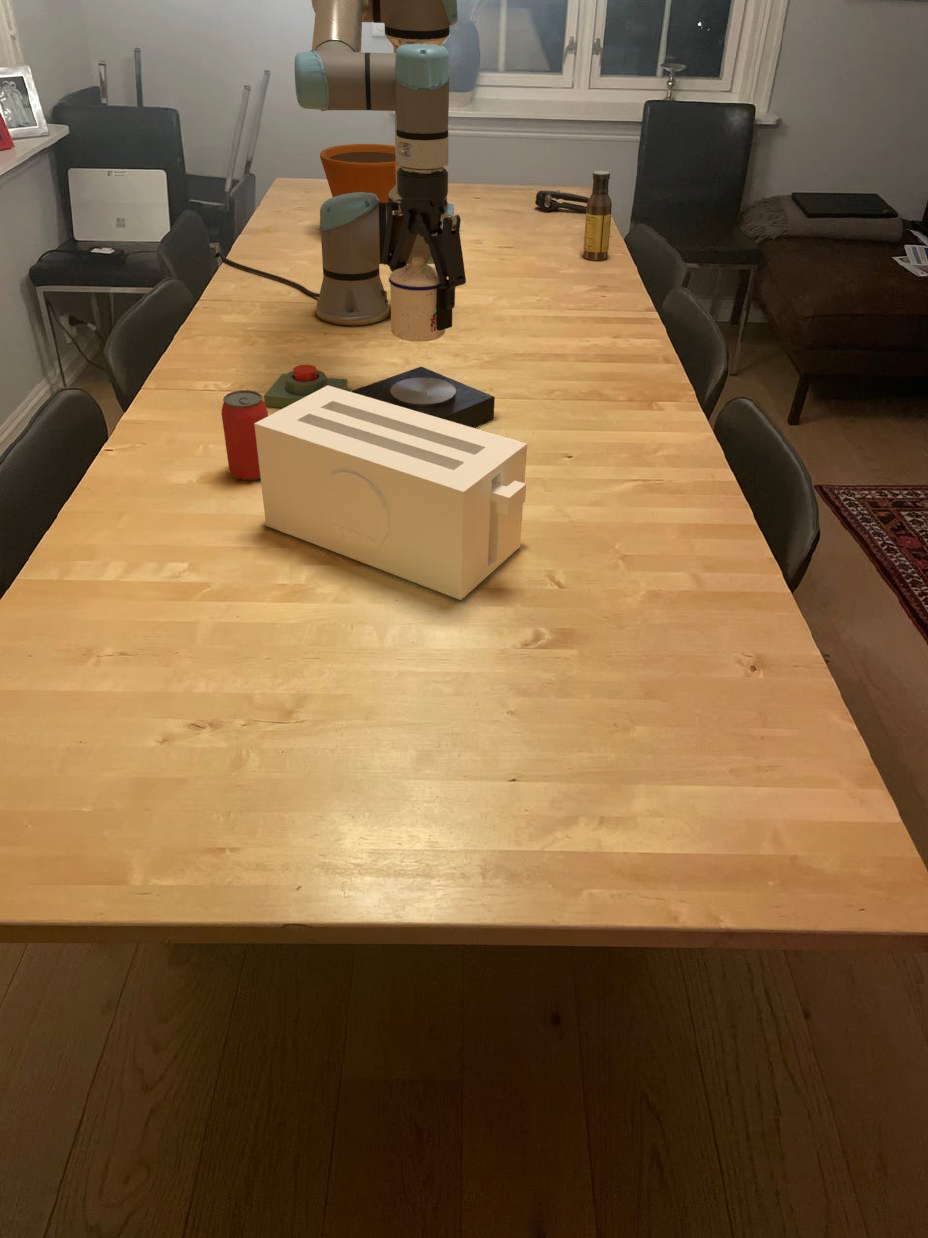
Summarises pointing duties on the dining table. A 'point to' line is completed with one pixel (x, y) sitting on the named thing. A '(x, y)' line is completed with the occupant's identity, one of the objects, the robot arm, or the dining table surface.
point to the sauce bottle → (598, 218)
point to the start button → (305, 373)
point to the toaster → (393, 487)
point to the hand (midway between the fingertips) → (422, 320)
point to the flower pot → (360, 169)
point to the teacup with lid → (414, 302)
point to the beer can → (242, 432)
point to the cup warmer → (433, 396)
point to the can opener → (548, 204)
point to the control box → (298, 389)
